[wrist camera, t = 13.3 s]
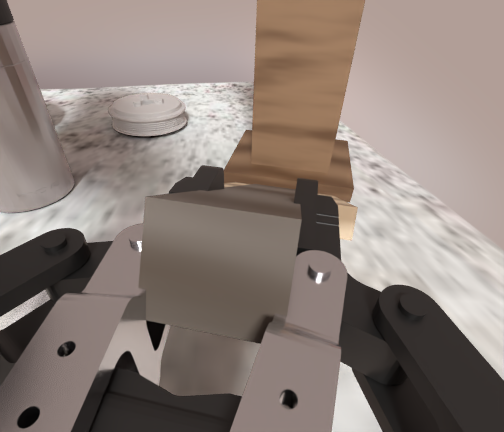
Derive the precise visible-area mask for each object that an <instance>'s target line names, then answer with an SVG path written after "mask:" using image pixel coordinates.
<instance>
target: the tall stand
mask: <svg viewBox="0 0 504 432" xmlns="http://www.w3.org/2000/svg"><path fill="white" fill-rule="evenodd" d="M364 3H365V0H257V18H256V44H255V46H256V47H255V74H254V98H253V126H252V130H246V131H245V133H244V134H243V136H242V138H241V140H240V142H239V144H238V145H237V147H236V149H235V151H234V153H233V154H232V156H231V158H230V160H229V162H228V164H227V165H226V167H225V169H224V183H243V184H259V185H267V186H274V187H282V188H289V189H296V184H297V178H304V179H312V180H318V194H325V195H333V196H335V197H337V198H339V199H341V200H343V201H345V202H350V200H351V197H352V193H353V190H354V186H353V179H352V171H351V164H350V157H349V149H348V142H347V141H344V140H335V138H336V134H337V129H338V124H339V120H340V115H341V110H342V106H343V101H344V96H345V92H346V87H347V83H348V78H349V73H350V68H351V64H352V59H353V55H354V50H355V45H356V41H357V36H358V31H359V26H360V22H361V17H362V12H363V8H364Z"/></svg>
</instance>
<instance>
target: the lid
mask: <svg viewBox="0 0 504 432" xmlns="http://www.w3.org/2000/svg"><path fill="white" fill-rule="evenodd" d="M185 108H186V107H185V104H184V103H183V102H182V101H180V100H179V99H178V98H177V97H175V96H172V95H168V94H163V93H139V94H133V95H128V96H124V97H121V98H119V99H117V100H116V101H114V102H113V104H112V105H111V106H110V107H109V109H108V111H109V114H110V115H111V116H112V120H113V121H112V127H113V128H114V129H115V130H116V131H118V132H120V133H123V134H127V135H133V136H155V135H162V134H167V133H170V132H173V131H176V130H178V129H180V128H182V127H183V126H184V125H185V124H186V122H187V118H186V116H185V114H184V111H185Z"/></svg>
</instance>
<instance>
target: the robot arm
mask: <svg viewBox="0 0 504 432" xmlns="http://www.w3.org/2000/svg"><path fill="white" fill-rule="evenodd" d="M13 20H14V19H13V16H12V14H11V11H10V9H9V6H8V3H7V0H0V212H6V213H13V212H23V211H29V210H34V209H38V208H41V207H44V206H47V205H49V204H51V203H54V202H56V201H58V200H59V199H61V198H63V197H64V196H65V195H67V194H68V193H69V192H70V191H71V189H72V188H73V186H74V178H73V176H72V173H71V170H70V168H69V165H68V162H67V160H66V157H65V155H64V151H63V149H62V146H61V143H60V141H59V138H58V136H57V133H56V130H55V128H54V125H53V122H52V120H51V117H50V114H49V112H48V109H47V106H46V104H45V101H44V98H43V96H42V93H41V90H40V88H39V85H38V83H37V80H36V77H35V75H34V72H33V70H32V67H31V64H30V61H29V59H28V57H27V54H26V51H25V48H24V46H23V44H22V41H21V38H20V35H19V33H18V30H17V28H16V25H15V22H14V21H13ZM219 189H224V170H223V168H220V167H212V166H205V165H202V166H201V167H200V168H199V170H198V171H197V173H196V174H195V176H194V177H193V178H192V177H185V178H184V179H182V180H180V181H179V182H177V183H175V185H174V186H173V187H172V189H171V190H170V191H169V194H173V193H181V192H190V191H198V190H203V191H212V190H219ZM294 203H296V204H300V206H301V218H302V221H301V227H300V234H299V240H298V247H297V253H296V260H295V266H294V273H293V279H292V286H291V293H290V299H289V306H288V312H287V316H285V315H280V314H275V315H274V318H273V321H272V322H270V323H269V324H268V326H267V328H266V331H265V334H264V336H263V339H262V342H261V345H260V348H259V351H258V353H257V356H256V359H255V362H254V365H253V367H252V370H251V373H250V376H249V379H248V382H247V384H246V387H245V390H244V393H243V396H238V395H233V394H213V395H196V396H176V395H173V394H171V393H170V392H168V391H167V390H165V389H163V388H162V387H160V386H159V382H160V366H161V358H162V354H163V350H164V347H165V343H166V340H167V336H168V333H169V329H170V326H171V325H167V324H162V323H157V322H152V321H148V320H146V289H143V288H138V285H139V273H140V260H141V247H142V235H143V224H137V225H133V226H131V227H128V228H126V229H124V230H123V231H122V232H120V233H119V234H118V235H117V237H116V238H115V240H114V241H108V242H94V243H87V242H86V240H85V237H84V235H83V233H82V232H80V231H79V230H76V229H72V228H62V229H56V230H52V231H49V232H47V233H44V234H42V235H40V236H38V237H36V238H34V239H32V240H30V241H28V242H26V243H24V244H22V245H20V246H18V247H16V248H14V249H12V250H10V251H8V252H6V253H4V254H2V255H0V317H1V316H2V315H4V314H6V313H7V312H9V311H11V310H12V309H14V308H15V307H17V306H19V305H20V304H22V303H24V302H25V301H27V300H29V299H30V298H32V297H34V296H35V295H37V294H38V293H40V292H42V291H43V290H46V292H47V294H48V295H49V297H50V300H49V301H47V302H46V303H44V304H43V305H41V306H39V307H38V308H36V309H35V310H33V311H32V312H30V313H28V314H27V315H25V316H24V317H22V318H21V319H19V320H17V321H16V322H14V323H13V324H11V325H10V326H8V327H7V328H5V329H3V330H1V331H0V432H331V431H332V423H333V415H334V407H335V399H336V391H337V383H338V375H339V367H340V361H341V362H342V363H344V364H346V365H348V366H350V367H352V371H353V373H354V375H355V377H356V379H357V381H358V383H359V385H360V387H361V389H362V391H363V393H364V395H365V397H366V399H367V401H368V403H369V405H370V407H371V409H372V411H373V413H374V415H375V417H376V419H377V421H378V423H379V425H380V427H381V429H382V431H383V432H504V380H503V379H502V378H501V377H500V376H499V375H498V373H497V372H496V371H495V370H494V369H493V368H492V367H491V365H490V364H489V363H488V362H487V361H486V360H485V358H484V357H483V356H482V355H481V354H480V353H479V352H478V350H477V349H476V348H475V347H474V346H473V345H472V343H471V342H470V341H469V340H468V339H467V338H466V337H465V335H464V334H463V333H462V332H461V331H460V330H459V328H458V327H457V326H456V325H455V324H454V323H453V322H452V320H451V319H450V318H449V317H448V316H447V315H446V313H445V312H444V311H443V310H442V309H441V308H440V306H439V305H438V304H437V303H436V302H435V301H434V300H433V299H432V298H431V297H429V296H428V295H427V294H425V293H424V292H422V291H420V290H418V289H416V288H413V287H410V286H405V285H392V286H389V287H387V288H385V289H384V290H383V291H382V292H380V291H378V290H375V289H373V288H371V287H368V286H366V285H364V284H362V283H360V282H358V281H357V280H355V279H354V278H353V277H351V276H350V275H349V274H348V273H347V270H346V268H345V266H344V264H343V263H342V262H341V251H340V231H339V211H338V205H337V204H336V202H335V201H334V199H333V198H332V196H324V195H318V180H312V179H304V178H297V184H296V190H295V197H294Z"/></svg>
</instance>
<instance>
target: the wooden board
mask: <svg viewBox="0 0 504 432" xmlns="http://www.w3.org/2000/svg"><path fill="white" fill-rule="evenodd" d="M295 190H296V189H289V188H282V187H274V186H267V185H259V184H243V183H224V189H219V190H212V191H203V190H198V191H190V192H181V193H173V194H164V195H156V196H147V197H145V209H144V222H143V235H142V247H141V260H140V273H139V285H138V288H143V289H146V320H148V321H152V322H157V323H162V324H167V325H172V326H177V327H182V328H187V329H192V330H197V331H201V332H206V333H211V334H216V335H221V336H226V337H231V338H236V339H241V340H246V341H251V342H255V343H260V344H261V342H262V339H263V336H264V334H265V331H266V328H267V326H268V324H269V323H270V322H272V321H273V318H274V315H275V314H280V315H285V316H287V312H288V306H289V299H290V293H291V286H292V279H293V273H294V266H295V260H296V253H297V247H298V240H299V234H300V227H301V221H302V218H301V206H300V204H296V203H294V197H295ZM318 195H324V196H332V198H333V199H334V201H335V202H336V204H337V205H338V211H339V231H340V239H345V240H351V241H352V236H353V230H354V225H355V219H356V213H357V208H358V207H355V206H353V205H351V204H349V203H347V202H345V201H343V200H341V199H339V198H337V197H335V196H333V195H325V194H318Z"/></svg>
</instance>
